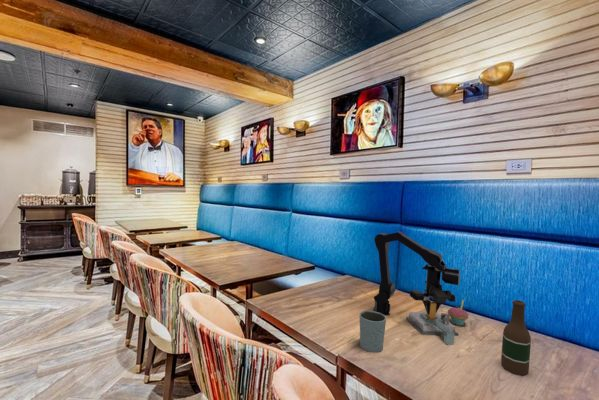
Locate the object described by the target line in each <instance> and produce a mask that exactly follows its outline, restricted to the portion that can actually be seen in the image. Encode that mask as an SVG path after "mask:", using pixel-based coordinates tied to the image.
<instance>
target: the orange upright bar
mask: <svg viewBox="0 0 599 400" xmlns="http://www.w3.org/2000/svg"><path fill="white" fill-rule="evenodd" d="M427 317H428V318H429V319H435V317H436V303H435V302H433V301H431V303H430V312H429V315H428V314H427Z"/></svg>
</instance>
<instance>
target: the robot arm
mask: <svg viewBox="0 0 599 400" xmlns="http://www.w3.org/2000/svg"><path fill="white" fill-rule="evenodd" d="M373 240H374V244H375V248H376V249H377V251H378V260H379V261H378V262H379V271H380V272H379V273H380V274H379V275H380V283H379V288H378V293H377V294H376V295H374V297H373V299H374V308H373V310H372V311H375V312H379V313H381V314H383V315H385V316H390V315H391V313H390V312H391V303H390V301H389V300H390V299H391V298H392V297H393V296H394V295H395V293H396V291H397V290H396V288H395V287H396V286H395V285H396V284H395V282H393V283H392V280H391V274H390V273H391V272H390V261H389V249H390V245H391V244H390V243H392V242H395V241H398V243H400V244H401V245H403V246H405V247H407V248H408V249H410V250H411V251H413V252H415V253H416V254H417V255H418V256H420V257H421V258H422V260H423V261H424V262H426V264H425V265H424V266H422V270H425V271H426V280H424V283H425V284H426V285H425V289H424V290H423V292H421V291H420V290H418V289H417V290H416V289H415V290H414V289H411V290H410V292H409V297H411V298H412V299H413V300H415V301H420V302H421V301H422V303H423V306H424V308H425V312H426V313H427V314H428V315H429V312H430V303H431V302H435V303H436V313H438V311H439V309H440V307H441V305H442V304H446V302H447V301H448V302H454V303H455V302H456V298H457V297H456V295H455V294H453V293H452V292H451V290H445V289H444V290H443V284H441V280H442V282H443V283H444V284H449V285H454V286H458V287H459V286H460V282H461V274H460V269H458V268H451V267H450V268H449V267H448V266H447V265H446V263H445V262H444V260H443V259H444V258H443V255H442V254H441V253H440V252H438V251H435V250H433V249H430V248H427V247H426V246H423V245H422V244H420V243H418V242H417V241H416V240H414V239H412V238H411V237H409V236H407V235H406V234H404V232H402V231H397V232H394V233H386V232H383V233H377V234H376V235H375V237H374V239H373ZM430 299H432V301H431V300H430Z"/></svg>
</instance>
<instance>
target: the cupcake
mask: <svg viewBox="0 0 599 400" xmlns="http://www.w3.org/2000/svg"><path fill="white" fill-rule="evenodd" d="M464 302H465V299H462V301H461V305H460V307H451V308H449V309H448V310H447V314H448V315H449V316H450V320H451V324H453V325H454V326H455V325H456V326H460V327H461V326H464V323H465V321H466V320H468V319H469V313H467V311H466V310H465V309H463V306H464Z"/></svg>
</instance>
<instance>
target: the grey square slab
mask: <svg viewBox="0 0 599 400" xmlns="http://www.w3.org/2000/svg"><path fill="white" fill-rule="evenodd" d="M405 318H406V320H407V321H408V322H409V323H410V324H411V325H412V326H413V327H414V329H416V331H417V332H418V333H420V335H422V336H424V335H425V336H443V343H444V344H445V345H446V344H453V345H454V344H455V337H456V336H459V333H458V332H456V326H455V324H453V323H452V322H450V320H451V317H450V315H449V314H448V313H445V312H443V313H439V312H437V313H436V317H435V319H429V318H428V317H427V312H426V311H424V312H422V311H421V312H419V311H409V313H408V316H405Z"/></svg>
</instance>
